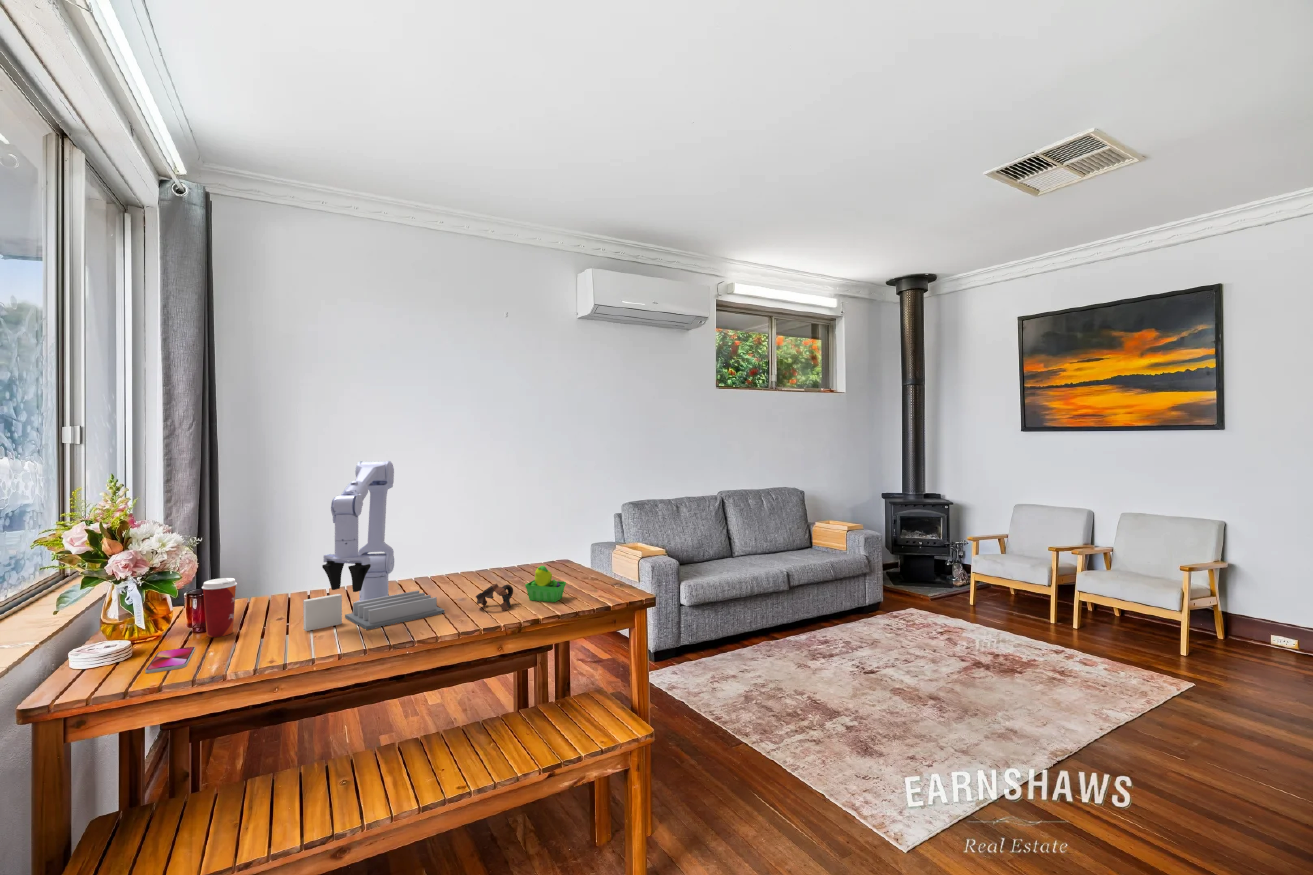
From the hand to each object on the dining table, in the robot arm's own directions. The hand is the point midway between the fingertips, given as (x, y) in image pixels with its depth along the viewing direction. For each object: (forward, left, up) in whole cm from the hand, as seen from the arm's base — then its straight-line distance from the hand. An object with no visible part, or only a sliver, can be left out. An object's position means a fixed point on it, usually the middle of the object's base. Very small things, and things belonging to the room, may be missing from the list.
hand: (346, 590), depth 167 cm
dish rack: (-2, +14, -10) cm, 18 cm away
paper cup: (-19, -25, -11) cm, 33 cm away
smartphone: (-4, -37, -11) cm, 39 cm away
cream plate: (-6, -4, -10) cm, 13 cm away
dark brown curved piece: (+11, +39, -11) cm, 42 cm away
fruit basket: (+15, +54, -11) cm, 57 cm away
